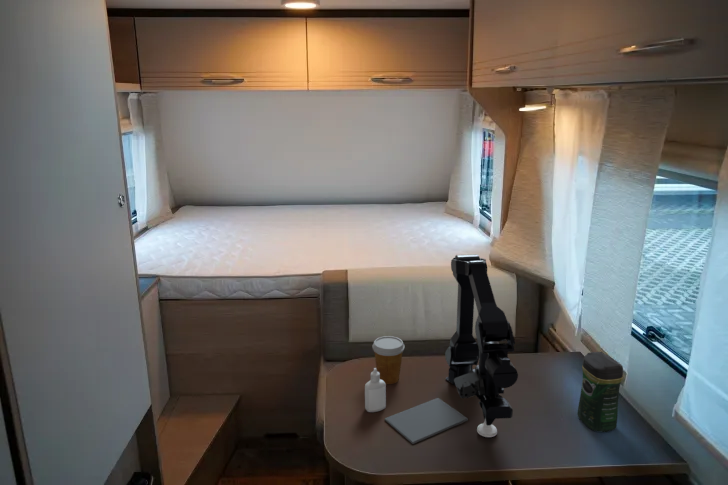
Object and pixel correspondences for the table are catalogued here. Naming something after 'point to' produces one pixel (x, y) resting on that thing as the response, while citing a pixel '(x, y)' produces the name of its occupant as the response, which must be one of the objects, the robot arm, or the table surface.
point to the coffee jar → (600, 392)
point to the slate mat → (425, 420)
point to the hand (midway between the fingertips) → (487, 422)
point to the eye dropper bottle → (375, 393)
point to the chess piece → (487, 430)
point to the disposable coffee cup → (388, 357)
